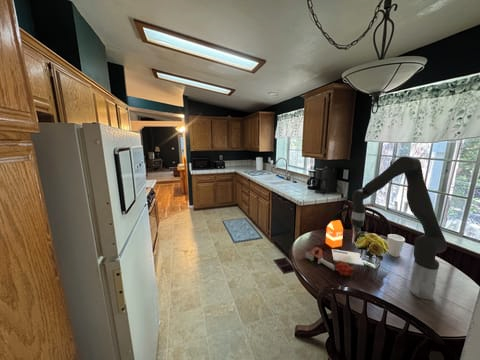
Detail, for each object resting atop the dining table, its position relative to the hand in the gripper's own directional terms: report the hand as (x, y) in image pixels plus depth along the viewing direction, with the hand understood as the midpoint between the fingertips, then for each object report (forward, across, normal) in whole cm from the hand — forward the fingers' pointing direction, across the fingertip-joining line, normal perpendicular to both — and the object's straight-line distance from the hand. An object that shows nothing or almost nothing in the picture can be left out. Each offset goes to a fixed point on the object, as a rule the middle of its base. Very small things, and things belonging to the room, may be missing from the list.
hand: (355, 240), depth 137 cm
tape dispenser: (+12, -15, +23) cm, 30 cm away
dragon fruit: (+11, -24, +9) cm, 28 cm away
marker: (+3, 0, 0) cm, 3 cm away
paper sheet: (+11, -5, +5) cm, 13 cm away
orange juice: (+12, +11, +12) cm, 20 cm away
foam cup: (+11, +10, -27) cm, 31 cm away
